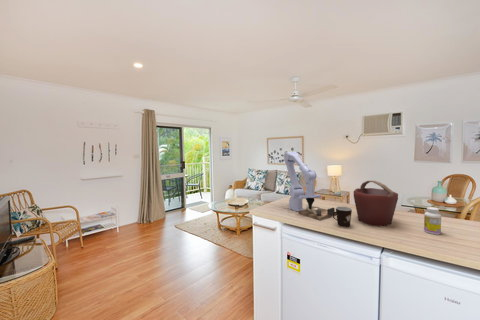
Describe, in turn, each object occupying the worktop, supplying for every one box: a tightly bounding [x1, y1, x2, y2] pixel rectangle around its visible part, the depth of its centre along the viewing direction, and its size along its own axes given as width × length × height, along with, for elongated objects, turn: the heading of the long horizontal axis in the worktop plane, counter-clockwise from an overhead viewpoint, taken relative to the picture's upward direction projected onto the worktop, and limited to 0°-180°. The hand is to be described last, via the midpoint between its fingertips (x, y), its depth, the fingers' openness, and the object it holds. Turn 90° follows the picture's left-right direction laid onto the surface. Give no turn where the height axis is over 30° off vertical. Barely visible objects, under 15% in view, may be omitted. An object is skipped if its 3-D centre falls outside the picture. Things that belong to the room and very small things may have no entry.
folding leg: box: [306, 204, 318, 214], centre depth 146 cm, size 12×3×3 cm, turn 12°
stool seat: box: [297, 206, 337, 222], centre depth 147 cm, size 18×18×6 cm
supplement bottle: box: [423, 206, 442, 235], centre depth 112 cm, size 7×7×13 cm
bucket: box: [353, 180, 399, 227], centre depth 130 cm, size 24×22×25 cm
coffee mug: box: [332, 206, 353, 228], centre depth 126 cm, size 12×9×10 cm
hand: (310, 208), depth 145 cm, fingers closed, pressing on folding leg
